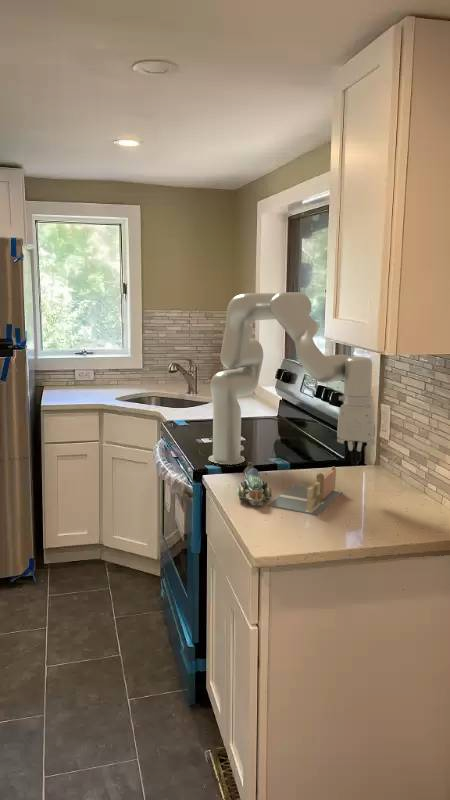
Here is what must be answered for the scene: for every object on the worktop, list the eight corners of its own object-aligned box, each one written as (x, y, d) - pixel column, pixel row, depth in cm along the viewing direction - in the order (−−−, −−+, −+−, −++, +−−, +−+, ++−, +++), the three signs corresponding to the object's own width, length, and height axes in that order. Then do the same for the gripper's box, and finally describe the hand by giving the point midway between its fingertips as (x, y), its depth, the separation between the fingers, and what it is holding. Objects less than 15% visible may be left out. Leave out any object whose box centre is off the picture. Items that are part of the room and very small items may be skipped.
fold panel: (323, 499, 183) (324, 476, 181) (319, 498, 183) (320, 475, 182) (335, 488, 192) (336, 466, 191) (331, 487, 193) (332, 466, 191)
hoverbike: (239, 508, 177) (239, 480, 176) (233, 480, 202) (233, 455, 200) (273, 508, 178) (274, 479, 176) (263, 480, 202) (264, 454, 201)
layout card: (294, 484, 198) (295, 483, 197) (342, 493, 191) (342, 491, 191) (267, 505, 179) (267, 504, 179) (318, 515, 172) (318, 514, 172)
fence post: (316, 501, 183) (317, 471, 181) (324, 502, 182) (325, 472, 180) (304, 512, 175) (305, 481, 173) (312, 513, 174) (313, 482, 172)
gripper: (328, 401, 181) (326, 464, 185) (381, 405, 176) (379, 469, 179) (334, 397, 188) (332, 457, 191) (386, 400, 183) (383, 463, 186)
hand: (355, 463), depth 185 cm, fingers closed
